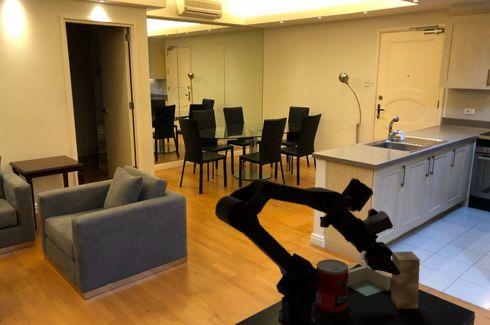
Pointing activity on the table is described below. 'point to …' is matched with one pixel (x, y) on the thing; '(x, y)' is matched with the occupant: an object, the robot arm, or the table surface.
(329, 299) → the canned food
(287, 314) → the robot arm
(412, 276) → the maple block
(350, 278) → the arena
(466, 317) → the table surface
